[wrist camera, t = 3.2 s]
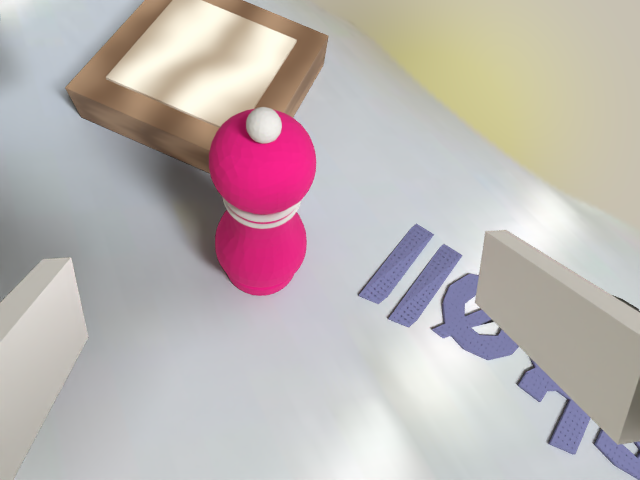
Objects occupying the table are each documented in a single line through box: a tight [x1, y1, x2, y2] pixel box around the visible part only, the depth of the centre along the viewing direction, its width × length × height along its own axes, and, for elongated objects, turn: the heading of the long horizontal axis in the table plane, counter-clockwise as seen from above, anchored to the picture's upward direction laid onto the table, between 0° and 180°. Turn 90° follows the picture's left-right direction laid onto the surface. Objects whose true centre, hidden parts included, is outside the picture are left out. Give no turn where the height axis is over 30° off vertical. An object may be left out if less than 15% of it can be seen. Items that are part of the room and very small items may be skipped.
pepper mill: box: [209, 107, 316, 296], centre depth 31 cm, size 7×7×20 cm
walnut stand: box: [65, 0, 328, 173], centre depth 45 cm, size 18×18×4 cm
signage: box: [359, 224, 640, 480], centre depth 39 cm, size 28×1×10 cm
